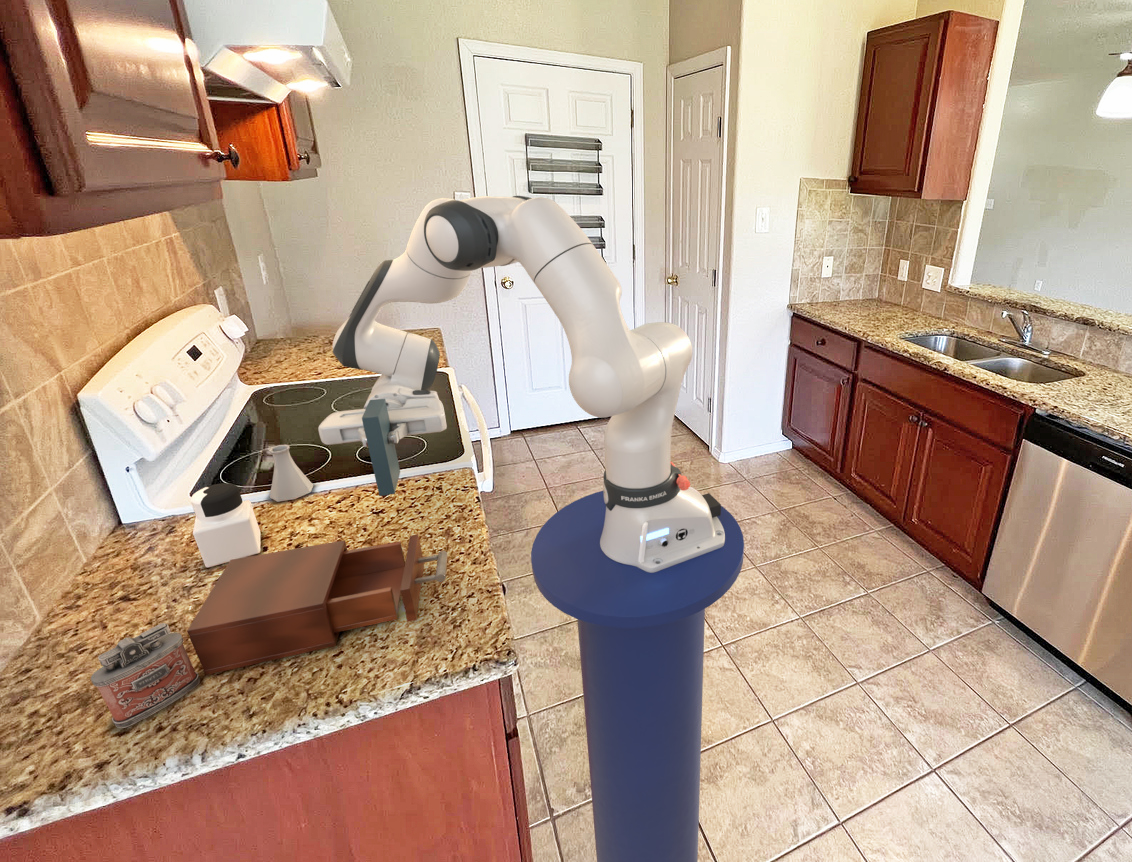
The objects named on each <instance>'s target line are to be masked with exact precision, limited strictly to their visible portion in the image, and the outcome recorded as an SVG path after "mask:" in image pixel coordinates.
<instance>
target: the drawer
mask: <svg viewBox="0 0 1132 862" xmlns="http://www.w3.org/2000/svg"><path fill="white" fill-rule="evenodd" d="M420 541H421V540H420V536H419V534H413V535H410V536H409V540H408V546H407V550H406V557H405V554H404V550H403V545H402V541H401V540H400V541H393V542H388V543H383V544H377V545H371V546H365V547H359V548H353V549H347V550H348V551H344V552H343V555H342V557H341V560H340V563H339V566H338V569H337V572H336V575H335V578H334V581H333V584H332V587H331V590H330V593H329V595H328V598H327V601H326V607H327V610H328V614H329V617H330V620H331V624H332V627H333V630H334V633H336V632H339V633H340V632H344V631H349V630H354V629H358V628H363V627H368V626H372V625H376V624H380V623H385V622H390V621H395V620H398V617H399V613H400V607H401V600H402V605H403V608H404V613H405V617H406V622H407V623H409V622H413V621H417V620H418V618H417V617H418V611H419V604H420V598H421V597H420V596H421V589H422V583H428V582H434V581H435V582H437V583H438V582H439V583H442V582H445V581H446V578H447V566H448V556H449V555H448V552H447V551H446V550H441V551H439V552H438V554H434V555H429V556H424V555H423V550H422V546H421V542H420ZM433 561H436V570H435V574H431V575H427V576H424V575H423V574H424V569H425V567H424V566H425V563H428V562H433Z"/></svg>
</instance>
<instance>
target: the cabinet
mask: <svg viewBox="0 0 1132 862" xmlns="http://www.w3.org/2000/svg"><path fill="white" fill-rule="evenodd" d="M348 550H349V549H348V546H347V543H346V540H345V539H343V540H339V541H331V542H327V543H326V542H325V543H320V544H315V545H309V546H303V547H298V548H297V547H296V548H291V549H285V550H280V551H274V552H267V553H263V554H255V555H251V556H248V557H244V558H238V559H232V560H230V562H227V565H226V567H225V568H224V569H223V571H222V573H221V575H220V576H219V578H218V580H217V581H216V583H215V585H214V586H213V587H212V589H211V591H210V592H209V594H208V595H207V598H206V599H205V601H204V603H203V604H202V606H201V607H200V608H199V610H198V611H197V614H196V615H195V617H194V619H193V620H192V622H191V624H190V625H189V626H188V628H187V630H186V632H187V635H188V637H189V639H190V642H191V644H192V647H193V649H194V651H195V654H196V656H197V658H198V661H199V663H200V666H201V668H202V670H203V672H204V674H205V676H208V675H213V674H218V673H222V672H226V671H231V670H234V669H238V668H244V667H247V666H253V665H257V664H261V663H265V662H271V661H275V660H278V659H279V660H280V659H284V658H288V657H293V656H298V655H301V654H306V653H310V652H314V651H318V650H324V649H328V648H333V647H336V646H337V642H338V639H339V635H340V632H336V633H334V630H333V627H332V624H331V620H330V617H329V614H328V610H327V607H326V601H327V598H328V595H329V593H330V590H331V587H332V584H333V581H334V578H335V575H336V572H337V569H338V566H339V563H340V560H341V557H342V555H343V552H344V551H348Z"/></svg>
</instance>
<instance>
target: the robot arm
mask: <svg viewBox="0 0 1132 862" xmlns="http://www.w3.org/2000/svg"><path fill="white" fill-rule="evenodd" d="M406 244H407V245H406V248H405V251H404V252H403V253H402V254H400V256H398V257H396V258H394V259H385V260H383V261H382V262H381V263H380V264H379V265H378V266H377V267H376V268H375V270H374V272H373V274H372V275H371V277H370V278H369V280H368V281H367V283H366V285H365V286H364V287H363V290H362V292H361V294H360V295H359V297H358V298H357V301H356V303H355V304H354V306H353V308H352V309H351V313H350V314H349V316H348V318H347V319H346V320H345V321H344V322H343V323H342V324H341V325H340V326H339V328H338V329H337V331H336V333H335V335H334V338H333V341H332V354H333V355H334V357H335V358H336V360H337V361H338V362H339V363H340V364H341V365H342V366H343V367H345V368H349V369H355V370H359V371H367V372H371V373H375V374H379V375H380V376H379V377H378V378H377V379H376V381H375V383H374V385H373V386H372V388H371V392H370V393H369V395H368V397H367V399H366V402H365V403H364V406H363V408H358V409H348V410H347V409H346V410H339V411H335V412H333V413H330V414H329V415H327V416H326V418H324V420H322V421H321V423H320V424H319V425H318V429H317V430H318V434H319V438H320V441H321V443H322V444H324V445H326V446H331V445H339V444H347V443H348V444H349V443H356V442H361V443H362V446H363V448H368V444H367V439H366V435H365V430H364V426H363V422H362V417H363V414H364V412H365V410H366V408H367V405H368V403H369V401H370V400H376V399H385V400H386V405H387V410H388V415H389V420H390V424H391V429H392V431H391V432H388V434H387V439H388V444H398V443H399V441H400V440H402V439H403V438H405V437H408V436H415V435H417V436H418V435H425V434H433V433H441V432H444V431H446V430H447V428H448V425H447V417H446V414H445V409H444V404H443V402H442V401H441V400H440V397H439V395H438V392H437V391H435V390H429V389H431V388H432V386H433V384H434V381H435V379H436V376H437V372H438V368H439V362H440V358H441V357H440V356H441V353H440V350H439V348H438V346H437V344H436V342H435V341H434V340H433V339H431V338H428V337H425V336H422V335H419V334H416V333H412V332H410V331H405V330H401V329H398V328H395V327H392V326H389V325H386V324H383V323H380V322H378V321H376V319H377V317H378V316H379V314H380V312H381V311H382V309H383V308H384V306H385V305H388V304H391V303H407V302H408V303H417V304H418V303H419V304H441V303H446V302H450V301H451V300H453V299H456V298H457V297H459V296H460V295H461V294H462V293H463V291H464V289H466V287H467V285H468V283H469V281H470V279H471V276H472V274H473V272H474V271H477V270H478V269H486V268H493V267H506V266H511V265H514V264H516V263H519V264H520V265H521V266H522V267H523V268H524V270H525V272H526V274H527V275H528V277H530V279H531V281H532V282H533V284H534V285H535V286H536V288H537V289H538V291H539V292H540V294H541V295H542V296H543V298H544V300H545V301H546V302H547V304H548V305H549V308H551V310H552V311H553V313H554V314H555V316H556V317H557V319H558V321H559V322H560V324H561V326H562V329H563V330H564V333H565V335H566V339H567V341H568V345H569V349H570V355H571V365H570V369H569V373H568V386H569V390H570V393H571V396H572V398H573V400H574V401H575V402H576V404H577V405H578V407H579V408H581V410H583V411H584V412H585V413H586V414H588V415H590V416H592V417H596V418H599V419H600V418H601V419H603V418H609V417H610V419H609V420H608V422H607V424H606V427H605V430H604V434H603V444H604V446H603V447H604V461H605V462H604V464H605V465H604V466H605V469H604V471H603V482H602V489H603V490H602V491H603V493H604V502H605V504H606V514H605V522H604V528H603V532H602V535H601V538H600V547H601V549H602V551H603V552H604V554H605V555H606V556H608V557H609V558H610V559H612V560H614V561H616V562H619V563H622V564H627V565H632V566H636V567H638V568H640V569H642V570H644V571H646V572H649V573H654V572H657V571H660V570H662V569H665V568H668V567H670V566H673V565H676V564H679V563H681V562H684V561H687V560H689V559H692V558H695V557H697V556H700V555H703V554H705V553H708V552H711V551H713V550H716V549H719V548H721V547H723V546H724V543H725V533H724V529H723V526H722V524H721V522H720V521H719V519H718V518H717V516H720V515H721V506H722V504H721V503H720V502H719V501H718V500H717V499H716V498H715V497H714V496H713V495H712V494H711V493H709V492H708V493H705V494H702V493H700V491H698V490H697V489H696V488H694V487H692V486H691V481H690V480H689V479H688V477H687V476H686V475H682V471H681V470H680V468H679V467H677V466H676V465H675V463H674V462H672V461H671V460H672V459H671V457H672V455H671V454H672V453H671V451H672V431H673V424H674V418H675V414H676V409H677V406H678V405H677V404H678V402H679V401H678V400H679V397H680V392H681V388H682V384H683V380H684V377H685V375H686V372H687V370H688V368H689V365H690V364H691V363H692V358H693V346H692V342H691V340H690V338H689V336H688V334H687V333H686V332H685V330H683V328H682V327H680V326H679V325H677V324H675V323H672V322H667V321H662V322H661V321H660V322H647V323H643V324H642V325H639V326H637V327H634V328H633V329H630V327H629V326H628V324H627V323H626V320H625V317H624V315H623V312H622V309H621V303H620V301H621V298H622V292H623V289H622V285H621V282H620V281H619V280H618V278H617V277H616V276H615V274H614V272H613V271H612V269H611V268H610V266H609V265H608V264H607V262H606V261H605V259H604V258H603V256H602V255H601V254H600V252H599V251H598V250H597V248H596V246H595V245H594V244H593V242H592V241H591V240H590V238H589V237H588V235H587V234H586V233H585V231H584V230H583V229H582V228H581V227H580V226H579V225H578V224H577V222H576V221H575V220H574V219H573V218H572V217H571V216H570V215H569V214H568V212H566V210H564V209H563V208H562V206H561V205H559V204H558V203H557V202H556V201H554V200H553V199H550V198H549V197H541V196H540V197H529V196H525V195H514V196H491V195H484V196H475V197H470V198H465V199H461V200H457V199H453V198H448V197H441V198H436V199H433V200H431V201H430V202H428V203H427V204H426V205H425V206H424V207H423V209H422V211H421V212H420V214H419V217H418V218H417V220H416V222H415V224H414V226H413V228H412V230H411V233H410V236H409V239H408V241H407V243H406Z"/></svg>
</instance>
